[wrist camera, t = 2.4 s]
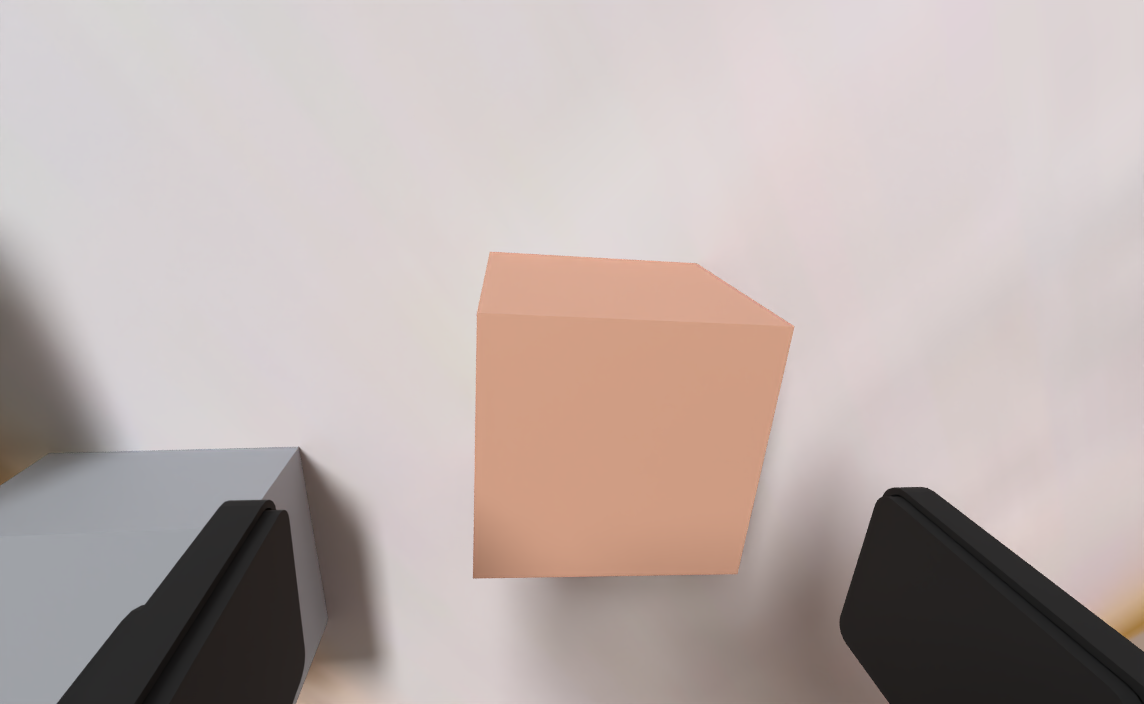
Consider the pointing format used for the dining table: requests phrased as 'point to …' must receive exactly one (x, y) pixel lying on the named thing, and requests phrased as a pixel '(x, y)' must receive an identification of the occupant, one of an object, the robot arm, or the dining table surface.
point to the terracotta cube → (618, 417)
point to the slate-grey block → (123, 549)
